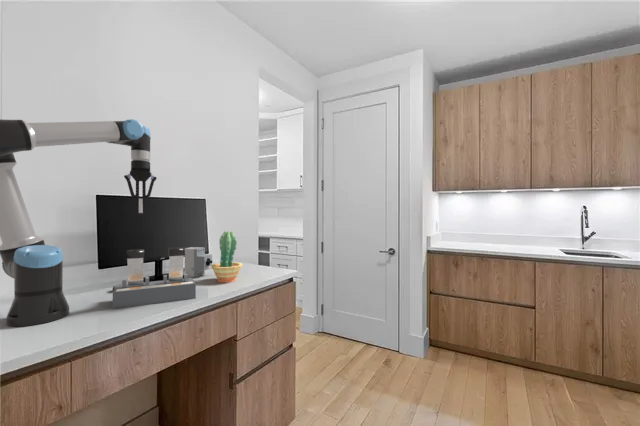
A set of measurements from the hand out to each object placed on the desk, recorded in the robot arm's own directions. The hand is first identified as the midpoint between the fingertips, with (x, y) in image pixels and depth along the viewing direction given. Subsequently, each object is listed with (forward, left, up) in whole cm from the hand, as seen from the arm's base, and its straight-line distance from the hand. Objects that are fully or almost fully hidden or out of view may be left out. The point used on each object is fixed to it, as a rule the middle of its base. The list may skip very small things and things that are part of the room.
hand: (140, 212), depth 138 cm
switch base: (+6, -22, -34) cm, 41 cm away
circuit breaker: (+27, +16, -35) cm, 47 cm away
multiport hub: (-5, 0, -35) cm, 35 cm away
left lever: (-1, -22, -27) cm, 35 cm away
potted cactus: (+38, -2, -35) cm, 51 cm away
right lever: (+13, -22, -27) cm, 37 cm away
